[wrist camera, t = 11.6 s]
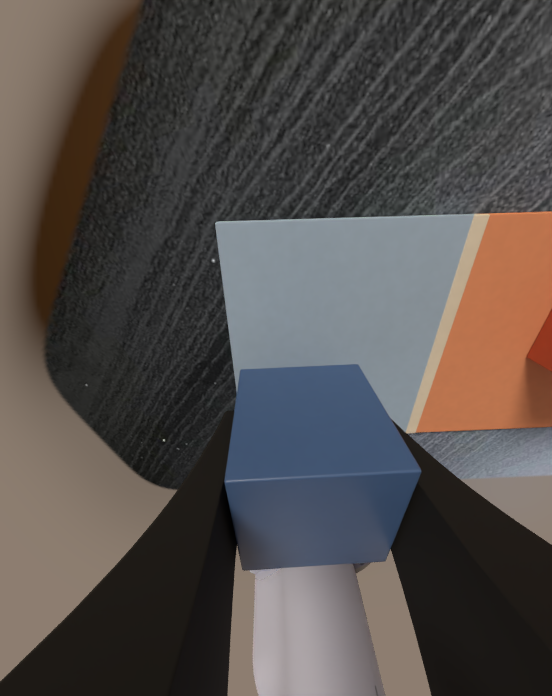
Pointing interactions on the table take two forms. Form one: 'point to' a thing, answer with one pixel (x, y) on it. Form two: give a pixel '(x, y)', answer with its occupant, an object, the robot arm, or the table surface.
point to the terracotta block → (543, 346)
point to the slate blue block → (315, 469)
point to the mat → (401, 309)
